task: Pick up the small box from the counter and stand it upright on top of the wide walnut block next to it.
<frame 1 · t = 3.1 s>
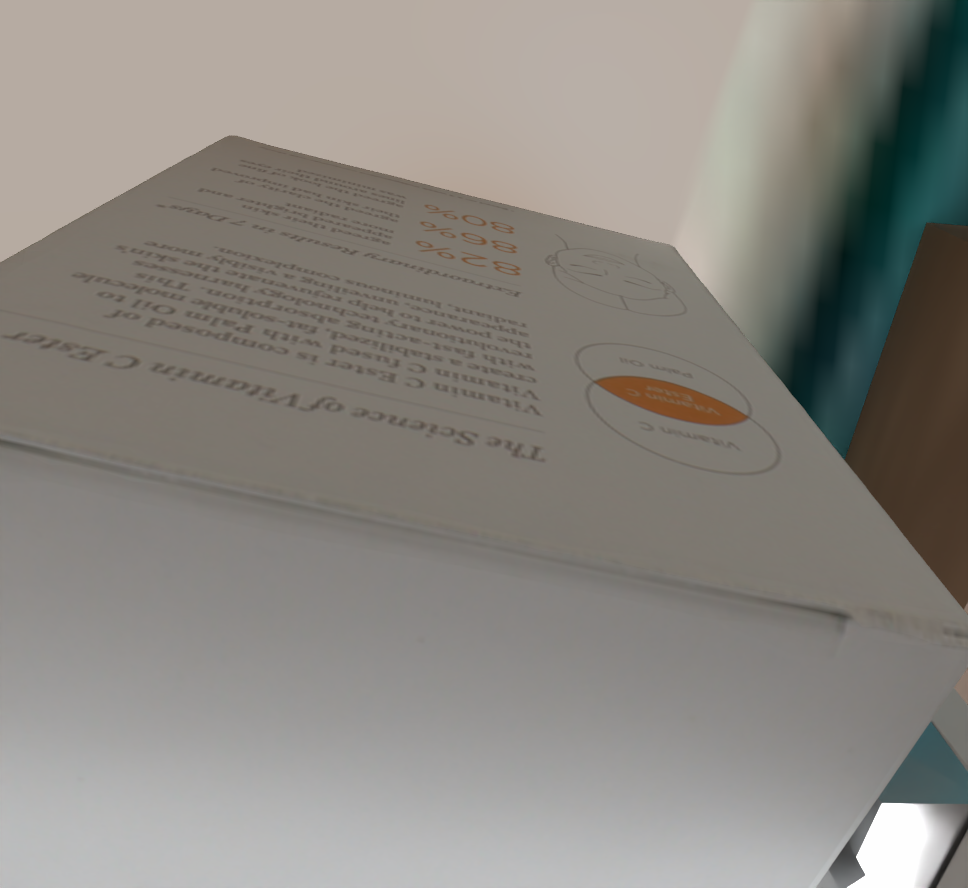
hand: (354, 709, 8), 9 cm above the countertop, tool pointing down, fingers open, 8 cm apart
small box: (428, 330, 16), on the countertop, touching gripper
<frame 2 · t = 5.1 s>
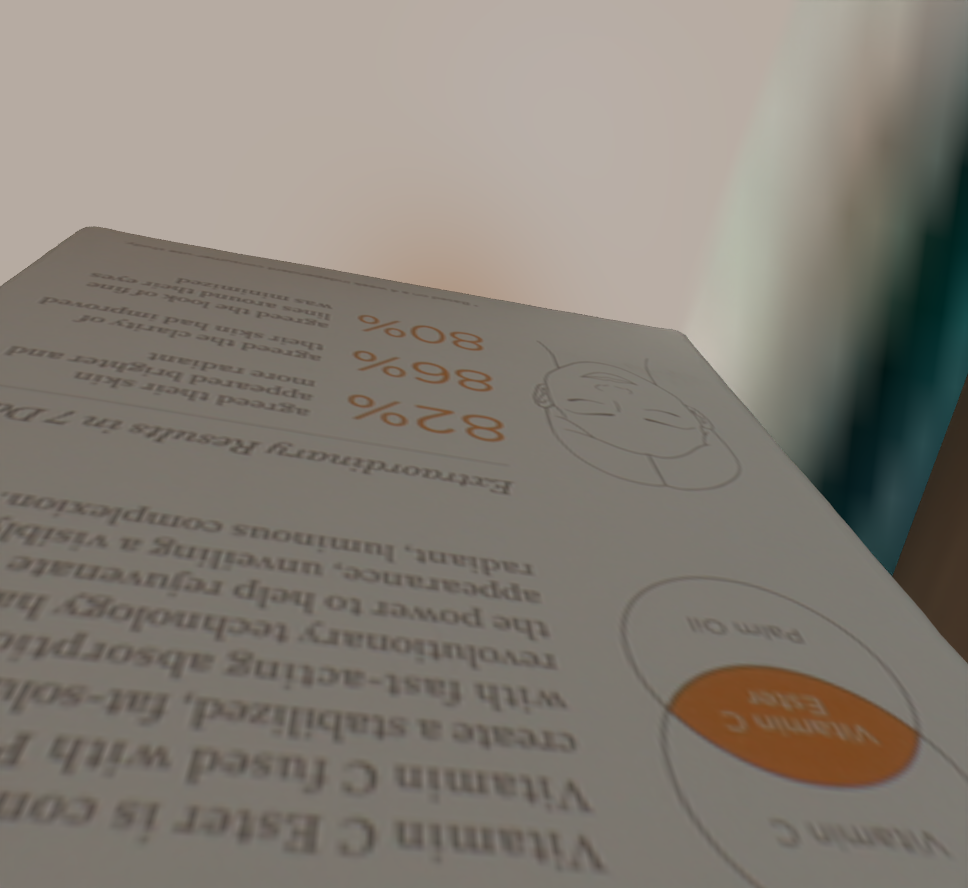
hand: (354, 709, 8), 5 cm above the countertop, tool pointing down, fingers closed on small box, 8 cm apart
small box: (375, 449, 12), on the countertop, touching gripper
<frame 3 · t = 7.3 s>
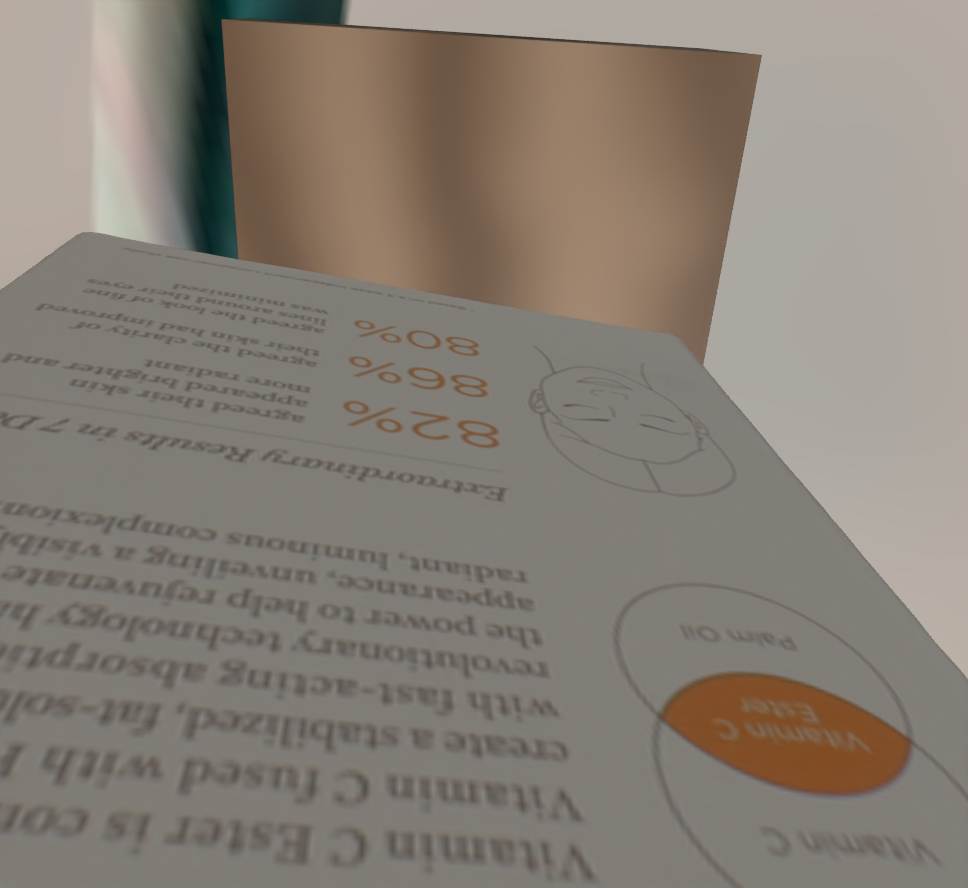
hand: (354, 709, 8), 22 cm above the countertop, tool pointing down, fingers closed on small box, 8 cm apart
walnut block: (470, 257, 29), on the countertop
small box: (372, 453, 12), point 17 cm above the countertop, touching gripper
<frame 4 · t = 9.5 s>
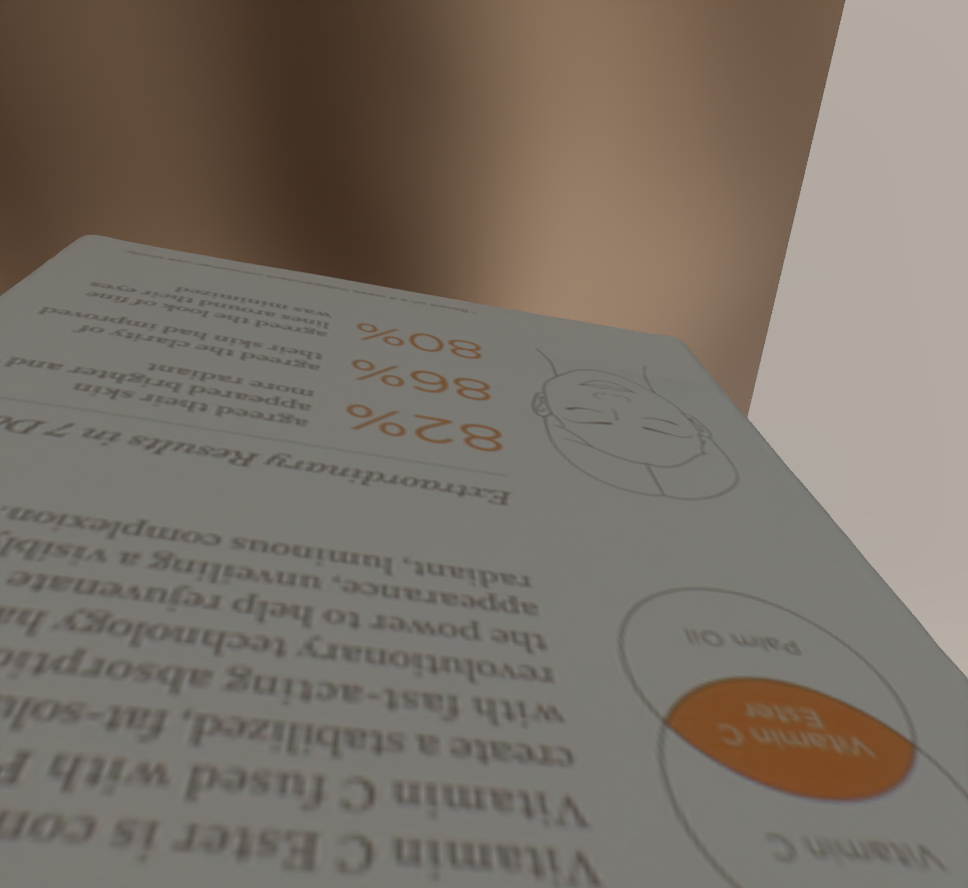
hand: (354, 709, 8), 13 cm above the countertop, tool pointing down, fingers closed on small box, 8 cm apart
walnut block: (391, 286, 20), on the countertop
small box: (374, 455, 12), point 8 cm above the countertop, touching gripper
when the fingers open (11 cm above the countertop, at t = 11.0 s): small box drops 2 cm, resting on walnut block.
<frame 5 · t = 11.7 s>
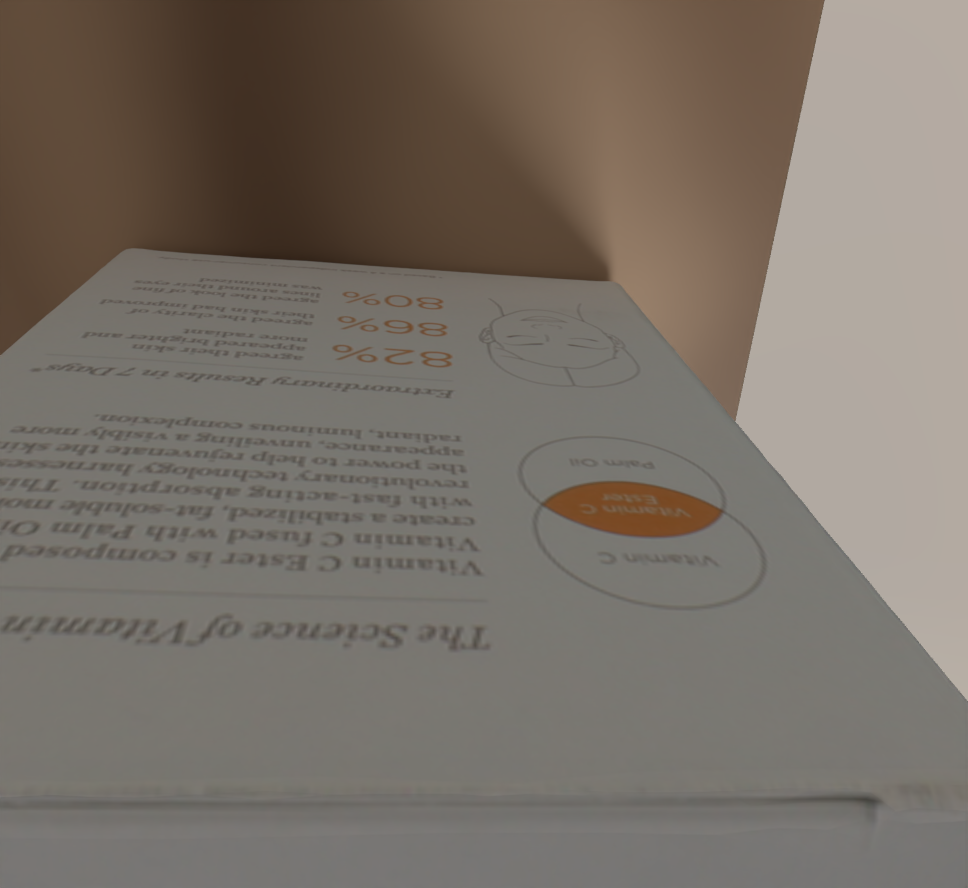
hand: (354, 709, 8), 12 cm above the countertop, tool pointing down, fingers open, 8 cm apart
walnut block: (359, 314, 19), on the countertop, touching small box
small box: (377, 410, 15), point 4 cm above the countertop, touching gripper, walnut block
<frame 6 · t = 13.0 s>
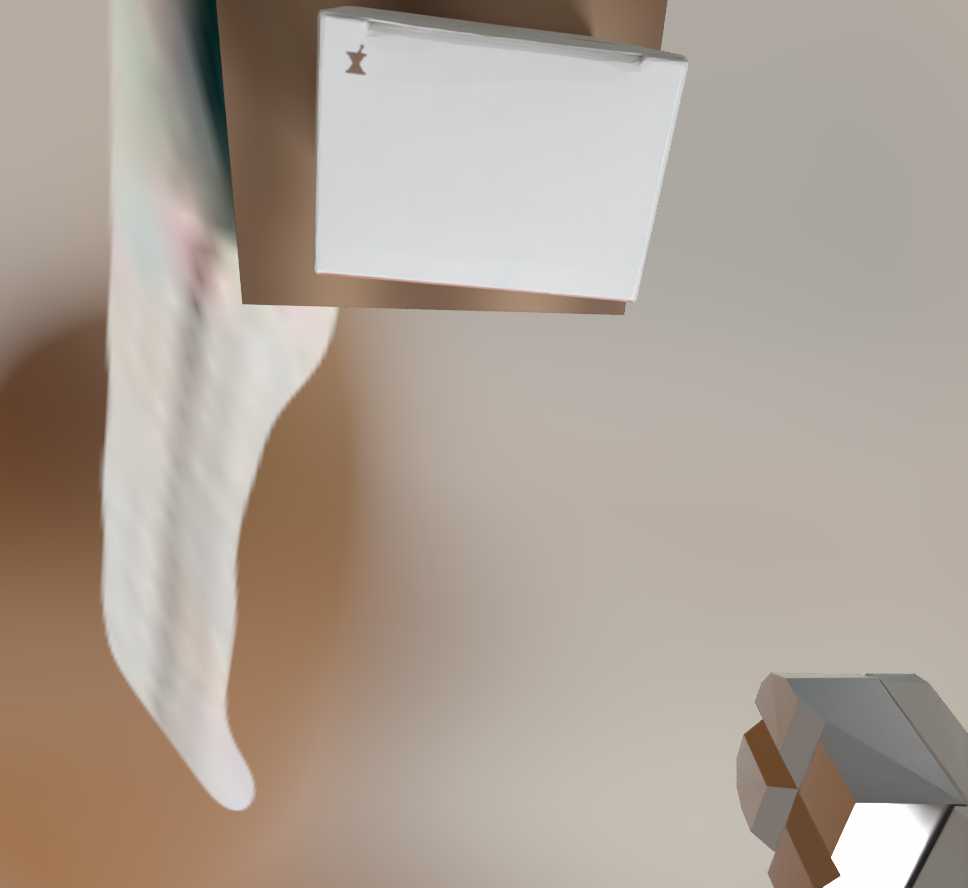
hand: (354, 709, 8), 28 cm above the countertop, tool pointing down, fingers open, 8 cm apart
walnut block: (439, 89, 32), on the countertop
small box: (467, 112, 28), point 4 cm above the countertop
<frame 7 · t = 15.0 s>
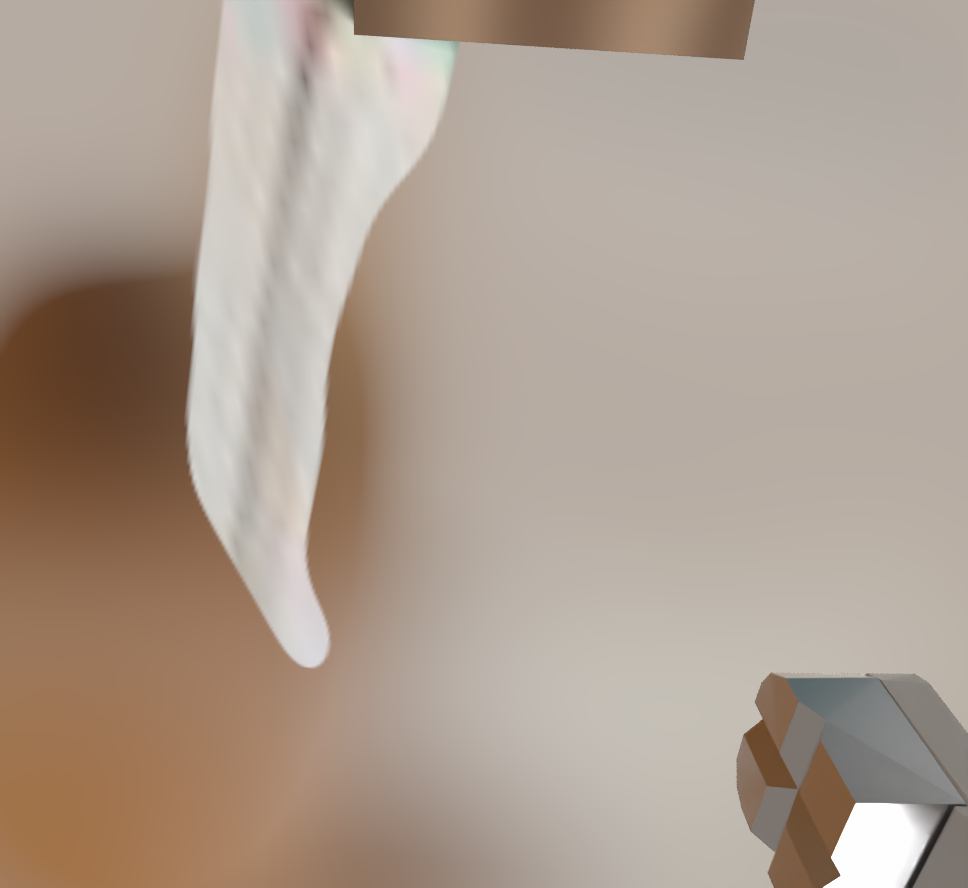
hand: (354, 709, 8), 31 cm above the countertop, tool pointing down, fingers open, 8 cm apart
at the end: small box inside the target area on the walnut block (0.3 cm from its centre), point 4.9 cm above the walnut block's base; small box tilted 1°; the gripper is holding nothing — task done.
